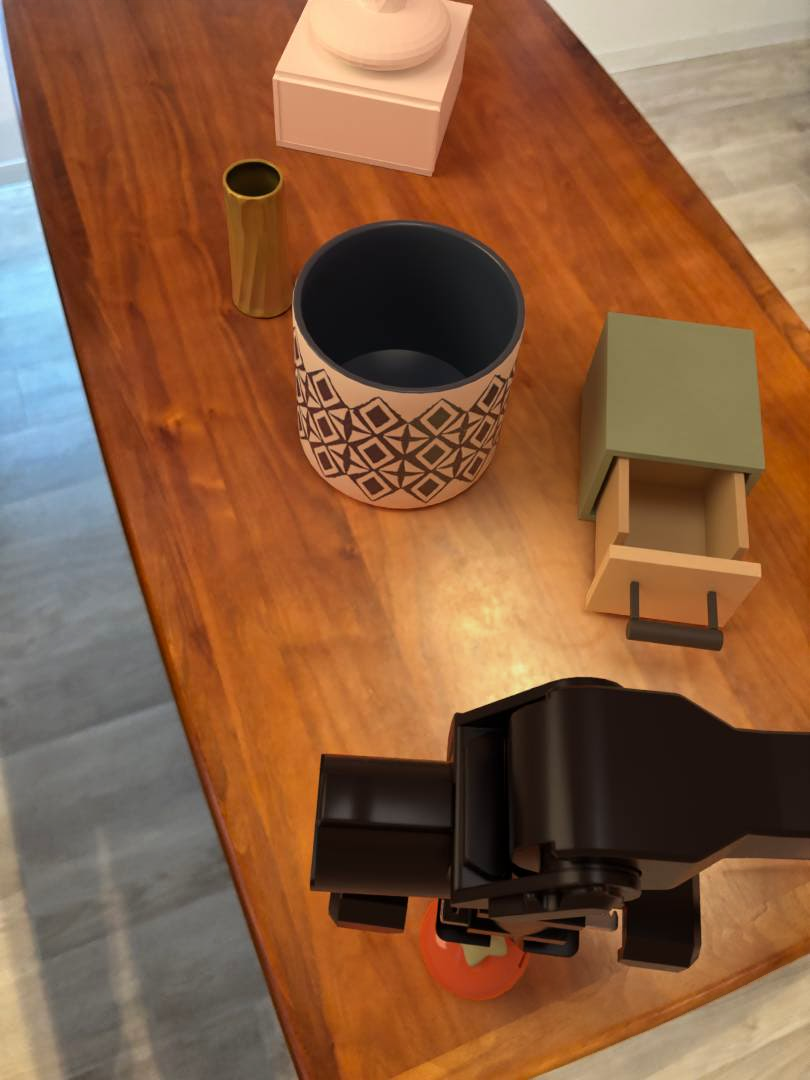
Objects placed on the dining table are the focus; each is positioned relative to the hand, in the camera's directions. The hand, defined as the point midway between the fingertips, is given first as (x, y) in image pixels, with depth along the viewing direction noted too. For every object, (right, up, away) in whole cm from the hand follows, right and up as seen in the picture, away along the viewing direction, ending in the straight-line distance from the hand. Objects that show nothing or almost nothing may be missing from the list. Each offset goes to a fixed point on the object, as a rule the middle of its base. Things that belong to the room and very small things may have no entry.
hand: (492, 913), depth 59 cm
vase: (-19, +46, +40) cm, 64 cm away
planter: (-6, +32, +33) cm, 46 cm away
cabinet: (+17, +29, +32) cm, 47 cm away
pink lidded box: (-9, +71, +55) cm, 90 cm away
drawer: (+16, +19, +25) cm, 36 cm away
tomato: (-1, -6, +10) cm, 12 cm away
